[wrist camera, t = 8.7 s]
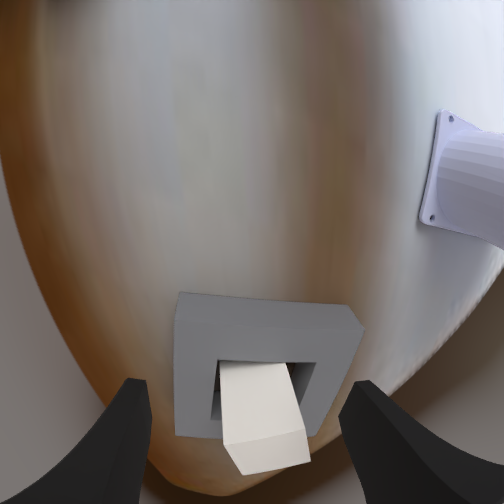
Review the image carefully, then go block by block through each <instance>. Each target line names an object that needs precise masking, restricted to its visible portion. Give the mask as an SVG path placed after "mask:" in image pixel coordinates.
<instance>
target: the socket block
mask: <svg viewBox="0 0 504 504" xmlns="http://www.w3.org/2000/svg"><path fill="white" fill-rule="evenodd" d="M364 331H365V329H364V327H363V326H362V325H361V323H360V322H359V320H358V319H357V318H356V316H355V315H354V313H353V312H352V311H351V309H350V308H349V306H348V305H340V304H320V303H303V302H287V301H273V300H260V299H248V298H236V297H225V296H214V295H204V294H194V293H185V292H180V294H179V298H178V303H177V308H176V313H175V317H174V358H173V365H174V416H175V435H176V436H186V437H199V438H215V439H223V426H222V407H221V391H214V383H215V375H216V366H217V359H220V360H235V361H256V362H296V363H295V366H294V370H293V373H292V376H291V383H292V386H293V389H294V393H295V396H296V399H297V403H298V406H299V409H300V413H301V416H302V419H303V423H304V426H305V430H306V436H307V437H310V436H315V435H316V433H317V432H318V430H319V428H320V426H321V424H322V422H323V420H324V419H325V417H326V415H327V413H328V411H329V409H330V407H331V405H332V403H333V401H334V399H335V397H336V395H337V393H338V391H339V389H340V387H341V384H342V382H343V380H344V378H345V376H346V374H347V371H348V369H349V367H350V365H351V362H352V360H353V358H354V356H355V353H356V351H357V349H358V346H359V344H360V341H361V339H362V336H363V334H364Z"/></svg>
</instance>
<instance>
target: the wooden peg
mask: <svg viewBox="0 0 504 504" xmlns="http://www.w3.org/2000/svg"><path fill="white" fill-rule="evenodd" d="M220 385H221V407H222V426H223V443H224V447H225V448H226V450H227V451H228V453H229V455H230V456H231V458H232V459H233V461H234V463H235V464H236V466H237V467H238V469H239V470H240V472H241V473H242V475H248V474H254V473H260V472H265V471H271V470H276V469H280V468H285V467H289V466H294V465H297V464H302V463H305V462H309V461H310V454H309V448H308V442H307V436H306V430H305V426H304V423H303V419H302V416H301V413H300V409H299V406H298V403H297V399H296V396H295V393H294V389H293V386H292V383H291V379H290V376H289V373H288V370H287V366H286V363H285V362H256V361H235V360H220Z"/></svg>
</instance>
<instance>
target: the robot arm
mask: <svg viewBox="0 0 504 504" xmlns="http://www.w3.org/2000/svg"><path fill="white" fill-rule="evenodd" d="M449 117H450V121H449ZM431 215H432V218H431V220H430V216H431ZM419 220H420V221H421V222H422V223H424V224H426V225H431V226H435V227H439V228H444V229H448V230H452V231H456V232H460V233H464V234H468V235H472V236H476V237H479V238H482V239H484V240H486V241H488V242H490V243H492V244H493V245H495V246H497V247H499V248H501V249H503V250H504V134H503V133H495V132H486V131H483V130H481V129H479V128H478V127H476V126H474V125H473V124H471V123H469V122H468V121H466V120H464V119H462V118H461V117H459V116H457V115H455V114H454V113H452V112H450V111H448V110H446V109H441V110H440V111H439V112H438V118H437V126H436V133H435V140H434V146H433V152H432V158H431V164H430V169H429V174H428V179H427V184H426V188H425V193H424V197H423V202H422V206H421V210H420V214H419ZM338 417H339V422H340V426H341V431H342V435H343V438H344V441H345V444H346V447H347V449H348V452H349V454H350V457H351V459H352V462H353V464H354V467H355V469H356V472H357V474H358V477H359V479H360V482H361V485H362V488H363V491H364V494H365V498H366V503H367V504H502V503H504V465H500V464H496V463H492V462H489V461H486V460H483V459H481V458H478V457H475V456H473V455H471V454H469V453H467V452H464V451H462V450H460V449H458V448H456V447H454V446H452V445H451V444H449V443H448V442H446V441H444V440H443V439H441V438H439V437H438V436H436V435H435V434H433V433H432V432H431V431H429V430H428V429H427V428H425V427H424V426H423V425H421V424H420V423H419V422H417V421H416V420H415V419H414V418H412V417H411V416H410V415H409V414H408V413H406V412H405V411H404V410H403V409H402V408H401V407H399V406H398V405H397V404H396V403H395V402H394V401H393V400H392V399H390V398H389V397H388V396H387V395H386V394H385V393H384V392H383V391H381V390H380V389H379V388H378V387H377V386H376V385H375V384H373V383H372V382H371V381H370V380H365V381H356V382H355V383H354V385H353V387H352V389H351V391H350V393H349V395H348V398H347V400H346V402H345V404H344V406H343V408H342V410H341V412H340V414H339V416H338ZM151 424H152V413H151V408H150V402H149V396H148V390H147V384H146V380H140V379H133V378H127V379H126V380H125V381H124V383H123V385H122V386H121V388H120V389H119V391H118V392H117V394H116V395H115V397H114V398H113V400H112V401H111V403H110V404H109V405H108V407H107V408H106V410H105V411H104V412H103V414H102V415H101V416H100V418H99V419H98V420H97V422H96V423H95V424H94V425H93V427H92V428H91V429H90V430H89V431H88V433H87V434H86V435H85V436H84V437H83V438H82V439H81V441H80V442H79V443H78V444H77V445H76V446H75V447H74V448H73V449H72V450H71V451H70V453H68V455H66V456H65V457H64V458H63V459H62V460H61V461H60V462H59V463H58V464H57V465H56V466H55V467H53V468H52V469H51V470H50V471H49V472H47V473H46V474H45V475H44V476H43V477H41V478H40V479H39V480H37V481H36V482H35V483H33V484H32V485H30V486H29V487H27V488H26V489H24V490H23V491H21V492H20V493H18V494H17V495H15V496H13V497H11V498H10V499H8V500H6V501H4V502H2V503H0V504H139V496H140V490H141V484H142V479H143V474H144V469H145V463H146V459H147V454H148V449H149V444H150V435H151Z"/></svg>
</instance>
